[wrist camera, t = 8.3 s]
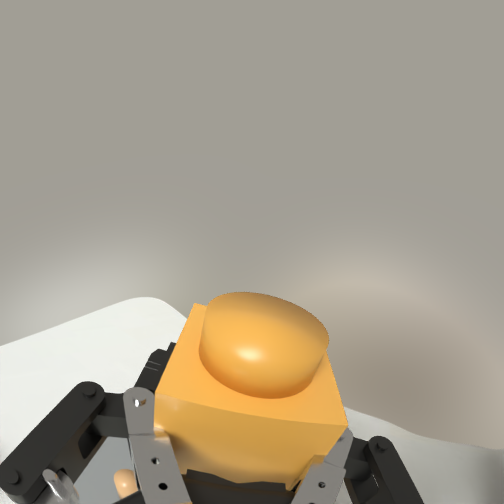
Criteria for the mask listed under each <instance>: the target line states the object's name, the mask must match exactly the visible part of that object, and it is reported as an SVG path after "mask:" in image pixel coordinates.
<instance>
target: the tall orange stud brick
mask: <svg viewBox="0 0 504 504" xmlns="http://www.w3.org/2000/svg"><path fill="white" fill-rule="evenodd" d="M328 344H329V336H328V333H327V331H326V328H325V327H324V326H323V324H322V323H321V322H320V321H319V320H318V319H317V318H316V317H315V316H313V315H312V314H311V313H309V312H308V311H306V310H305V309H303V308H301V307H299V306H297V305H295V304H293V303H291V302H288V301H285V300H283V299H280V298H277V297H273V296H269V295H264V294H259V293H250V292H234V293H227V294H223V295H220V296H218V297H216V298H214V299H213V300H211V301H210V303H209V304H208V306H204V305H200V304H196V303H195V304H194V306H193V308H192V310H191V312H190V315H189V317H188V319H187V321H186V323H185V326H184V328H183V330H182V332H181V334H180V337H179V339H178V341H177V343H176V346H175V348H174V350H173V352H172V355H171V357H170V359H169V361H168V364H167V366H166V368H165V370H164V373H163V375H162V377H161V380H160V382H159V384H158V387H157V389H156V391H155V405H154V426H155V427H158V428H161V429H164V432H165V433H167V434H168V436H169V439H170V442H171V446H172V449H173V452H174V455H175V458H176V461H177V464H178V467H179V470H180V473H181V474H186V473H187V469H191V470H196V471H200V472H205V473H210V474H214V475H216V476H219V477H221V478H224V479H226V480H229V481H232V482H235V483H249V482H260V481H265V482H276V483H285V484H286V490H288V489H289V487H290V486H291V484H292V483H293V481H294V480H295V479H297V478H298V477H299V476H300V475H301V473H302V472H303V471H304V469H305V468H306V466H307V465H308V463H309V461H310V459H311V458H312V457H313V455H314V454H315V455H327V454H328V453H329V451H330V450H331V449H332V447H333V446H334V445H335V443H336V442H337V440H338V439H339V438H340V436H341V435H342V434H343V432H344V431H345V429H346V428H347V426H348V422H347V419H346V415H345V412H344V408H343V405H342V401H341V398H340V394H339V391H338V388H337V384H336V381H335V378H334V375H333V371H332V368H331V365H330V362H329V358H328V355H327V352H326V349H327V347H328Z"/></svg>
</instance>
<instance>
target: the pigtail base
mask: <svg viewBox="0 0 504 504" xmlns="http://www.w3.org/2000/svg"><path fill="white" fill-rule="evenodd" d="M74 486H75V488H76V490H77V491H78V494H79V503H78V504H112V503H114V502H116V501H119V500H121V499H123V498H125V497H126V496H128V495H130V494H132V493H134V492H136V491H138V490H137V486H136V482H135V478H134V473H133V467H132V463H131V458H130V453H129V448H128V442H127V438H117V437H107V439H106V440H105V442H104V443H103V444H102V446H101V447H100V449H99V450H98V451H97V453H96V454H95V455H94V457H93V458H92V460H91V461H90V462H89V464H88V465H87V467H86V468H85V469H84V471H83V472H82V474H81V475H80V476H79V478H78V479H77V481H76V482H75V483H74Z"/></svg>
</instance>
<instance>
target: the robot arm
mask: <svg viewBox="0 0 504 504" xmlns="http://www.w3.org/2000/svg"><path fill="white" fill-rule="evenodd" d="M175 346H176V343H173V342H171V343H170V345H169V347H168V349H167V351H165V350H162V349H157V350H156V351H154V352H153V353H151V355H150V357H149V359H148V362H147V363H146V365H145V367H144V368H143V370H142V372H141V374H140V376H139V378H138V380H137V382H136V384H135V386H134V387H133V388H130V389H128V390H127V391H126V392H125V393H121V394H115V393H106V392H104V390H103V388H102V387H101V386H100V385H99V384H97V383H95V382H90V381H85V382H81V383H79V384H78V385H76V386H75V387H74V388H73V389H72V390H71V391H70V392H69V393H68V394H67V395H66V396H65V397H64V398H63V399H62V400H61V401H60V402H59V404H58V405H57V406H56V407H55V408H54V409H53V410H52V411H51V412H50V413H49V414H48V415H47V416H46V417H45V418H44V419H43V420H42V421H41V422H40V423H39V424H38V425H37V426H36V427H35V428H34V429H33V430H32V431H31V432H30V433H29V435H28V436H27V437H26V438H25V439H24V440H23V441H22V442H21V443H20V444H19V445H18V446H17V447H16V448H15V449H14V450H13V452H12V453H11V454H10V455H9V456H8V457H7V458H6V459H5V460H4V461H3V462H2V463H1V465H0V487H1V488H2V490H3V491H4V492H5V493H6V494H7V495H8V497H9V498H10V499H11V500H12V501H13V502H14V503H15V504H78V503H79V494H78V491H77V490H76V488H75V486H74V483H75V482H76V481H77V479H78V478H79V476H80V475H81V474H82V472H83V471H84V469H85V468H86V467H87V465H88V464H89V462H90V461H91V460H92V458H93V457H94V455H95V454H96V453H97V451H98V450H99V449H100V447H101V446H102V444H103V443H104V442H105V440H106V439H107V437H117V438H127V442H128V448H129V453H130V458H131V463H132V467H133V473H134V478H135V482H136V486H137V490H138V491H136V492H134V493H132V494H130V495H128V496H126V497H125V498H123V499H121V500H119V501H116V502H114V503H112V504H334V502H335V500H336V497H337V495H338V492H339V489H340V487H341V484H342V481H343V479H344V482H345V484H346V487H347V490H348V493H349V495H350V498H351V501H352V504H424V503H423V501H422V499H421V497H420V495H419V493H418V491H417V489H416V487H415V485H414V483H413V481H412V479H411V477H410V476H409V474H408V472H407V470H406V468H405V466H404V464H403V462H402V460H401V459H400V457H399V455H398V453H397V451H396V449H395V447H394V446H393V444H392V442H391V441H390V440H389V439H387V438H385V437H382V436H374V437H372V438H371V439H370V440H369V441H365V440H361V439H358V438H355V437H353V434H352V432H351V431H350V430H349V429H348V428H346V429H345V431H344V432H343V434H342V435H341V436H340V438H339V439H338V440H337V442H336V443H335V445H334V446H333V447H332V449H331V450H330V451H329V453H328V454H327V455H315V454H314V455H313V457H312V458H311V459H310V461H309V463H308V465H307V466H306V468H305V469H304V471H303V472H302V473H301V475H300V476H299V477H298V478H297V479H295V480H294V481H293V483H292V484H291V486H290V487H289V489H288V490H286V484H285V483H276V482H265V481H260V482H249V483H235V482H232V481H229V480H226V479H224V478H221V477H219V476H216V475H214V474H210V473H205V472H200V471H196V470H191V469H187V473H186V474H181V473H180V470H179V467H178V464H177V461H176V458H175V455H174V452H173V449H172V446H171V442H170V439H169V436H168V434H167V433H165V432H164V429H161V428H158V427H155V426H154V405H155V391H156V389H157V387H158V384H159V382H160V380H161V377H162V375H163V373H164V370H165V368H166V366H167V364H168V361H169V359H170V357H171V355H172V352H173V350H174V348H175ZM373 475H374V477H375V479H374V477H373ZM375 480H376V481H375ZM376 482H377V483H376ZM377 484H378V486H377Z"/></svg>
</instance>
